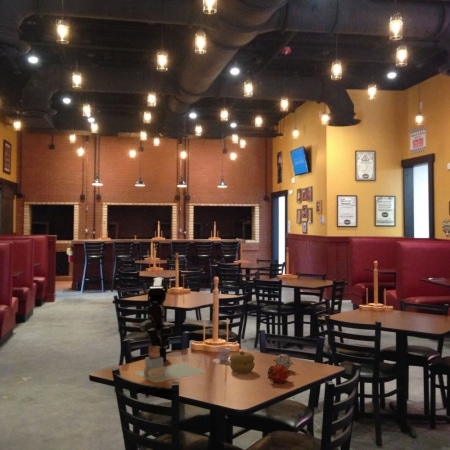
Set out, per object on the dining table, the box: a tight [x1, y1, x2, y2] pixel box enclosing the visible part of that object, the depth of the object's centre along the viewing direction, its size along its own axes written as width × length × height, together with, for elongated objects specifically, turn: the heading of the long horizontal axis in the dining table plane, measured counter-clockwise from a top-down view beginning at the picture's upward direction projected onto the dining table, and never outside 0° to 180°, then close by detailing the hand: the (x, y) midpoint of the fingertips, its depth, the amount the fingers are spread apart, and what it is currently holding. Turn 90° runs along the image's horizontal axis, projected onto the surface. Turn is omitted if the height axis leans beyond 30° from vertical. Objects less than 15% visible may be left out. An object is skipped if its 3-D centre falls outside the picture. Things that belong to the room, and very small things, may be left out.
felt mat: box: [131, 362, 207, 383], centre depth 246 cm, size 22×28×1 cm
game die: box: [273, 352, 294, 369], centre depth 247 cm, size 9×8×10 cm
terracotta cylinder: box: [148, 345, 160, 359], centre depth 241 cm, size 5×5×5 cm
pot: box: [229, 350, 256, 375], centre depth 245 cm, size 12×12×10 cm
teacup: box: [212, 347, 232, 365], centre depth 267 cm, size 12×12×6 cm
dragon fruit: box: [267, 364, 290, 384], centre depth 228 cm, size 8×8×12 cm
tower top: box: [144, 356, 164, 369], centre depth 241 cm, size 6×6×4 cm
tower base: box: [143, 365, 165, 378], centre depth 241 cm, size 7×7×4 cm
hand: (157, 346), depth 245 cm, fingers open, 9 cm apart
